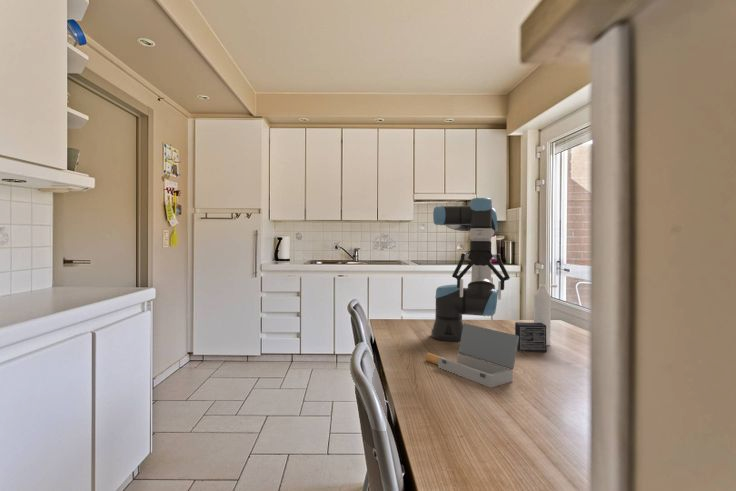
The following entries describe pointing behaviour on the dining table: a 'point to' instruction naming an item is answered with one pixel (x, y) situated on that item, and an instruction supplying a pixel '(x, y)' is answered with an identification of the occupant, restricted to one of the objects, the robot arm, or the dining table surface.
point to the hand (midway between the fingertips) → (480, 298)
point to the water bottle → (543, 309)
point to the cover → (489, 345)
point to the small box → (531, 336)
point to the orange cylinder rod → (432, 358)
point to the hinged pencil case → (477, 370)
